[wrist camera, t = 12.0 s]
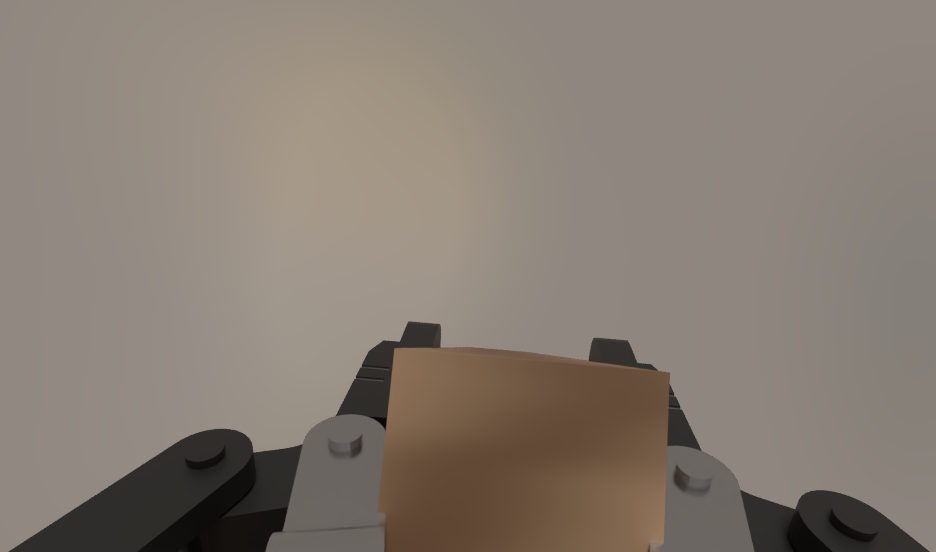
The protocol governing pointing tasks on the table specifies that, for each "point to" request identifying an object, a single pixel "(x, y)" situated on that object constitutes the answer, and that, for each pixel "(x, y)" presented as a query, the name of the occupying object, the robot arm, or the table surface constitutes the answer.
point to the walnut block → (522, 453)
